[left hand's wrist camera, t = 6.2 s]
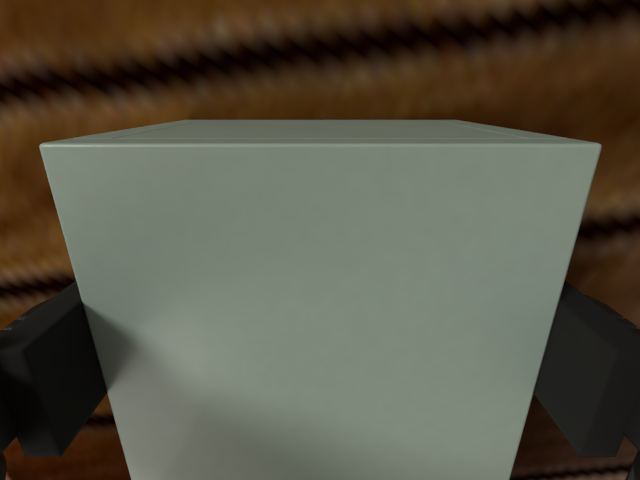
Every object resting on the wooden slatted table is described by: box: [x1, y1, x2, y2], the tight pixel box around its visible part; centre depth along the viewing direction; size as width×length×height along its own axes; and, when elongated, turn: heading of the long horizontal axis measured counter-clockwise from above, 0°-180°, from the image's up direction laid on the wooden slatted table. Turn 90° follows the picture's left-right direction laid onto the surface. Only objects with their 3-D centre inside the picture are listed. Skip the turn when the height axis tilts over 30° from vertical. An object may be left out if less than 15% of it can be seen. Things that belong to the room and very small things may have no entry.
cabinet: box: [40, 120, 602, 480], centre depth 14 cm, size 16×11×8 cm
